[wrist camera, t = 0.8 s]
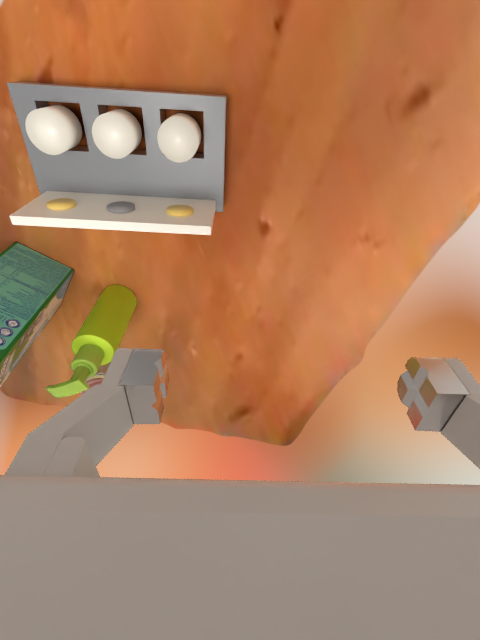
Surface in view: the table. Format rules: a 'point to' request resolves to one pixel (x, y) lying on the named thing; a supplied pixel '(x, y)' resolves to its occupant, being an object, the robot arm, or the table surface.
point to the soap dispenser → (98, 338)
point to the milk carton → (26, 300)
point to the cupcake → (96, 377)
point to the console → (124, 165)
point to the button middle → (116, 133)
